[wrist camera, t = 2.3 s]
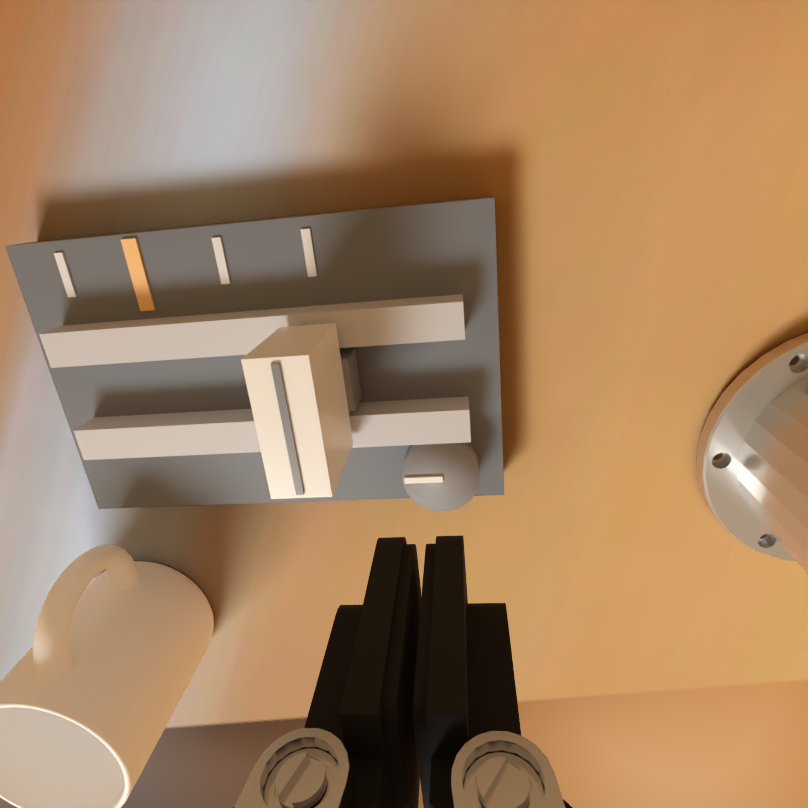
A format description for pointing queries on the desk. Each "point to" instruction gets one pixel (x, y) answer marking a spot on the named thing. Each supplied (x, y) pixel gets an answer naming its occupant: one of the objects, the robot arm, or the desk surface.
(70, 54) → the desk surface
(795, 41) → the desk surface
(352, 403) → the fader
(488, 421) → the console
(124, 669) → the mug
